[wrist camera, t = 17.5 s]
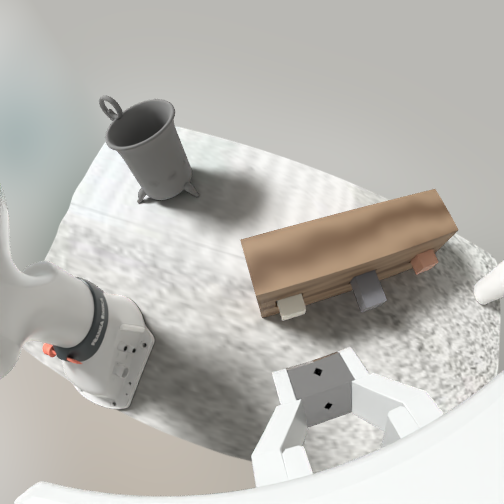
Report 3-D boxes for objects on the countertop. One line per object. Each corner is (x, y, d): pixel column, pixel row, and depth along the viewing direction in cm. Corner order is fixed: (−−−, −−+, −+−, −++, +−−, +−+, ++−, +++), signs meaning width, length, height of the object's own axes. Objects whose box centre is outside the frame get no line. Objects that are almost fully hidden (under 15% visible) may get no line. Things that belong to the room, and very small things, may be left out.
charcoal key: (380, 305, 41) (386, 300, 38) (361, 312, 41) (366, 308, 38) (368, 274, 43) (373, 267, 41) (349, 280, 43) (353, 273, 41)
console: (423, 263, 49) (458, 229, 36) (262, 317, 48) (255, 295, 35) (407, 229, 52) (435, 188, 39) (250, 275, 51) (240, 239, 38)
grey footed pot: (218, 172, 62) (192, 78, 39) (179, 224, 57) (128, 135, 34) (158, 151, 67) (122, 73, 44) (121, 195, 62) (68, 120, 39)
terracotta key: (430, 268, 42) (438, 262, 40) (416, 274, 42) (423, 268, 40) (418, 241, 45) (424, 233, 42) (403, 246, 45) (409, 238, 42)
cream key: (304, 314, 42) (306, 309, 39) (282, 320, 42) (282, 316, 39) (293, 280, 44) (294, 274, 41) (272, 287, 44) (271, 280, 41)
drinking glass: (495, 292, 44) (538, 266, 30) (483, 315, 42) (529, 292, 29) (477, 271, 46) (518, 240, 33) (465, 293, 45) (509, 265, 31)
